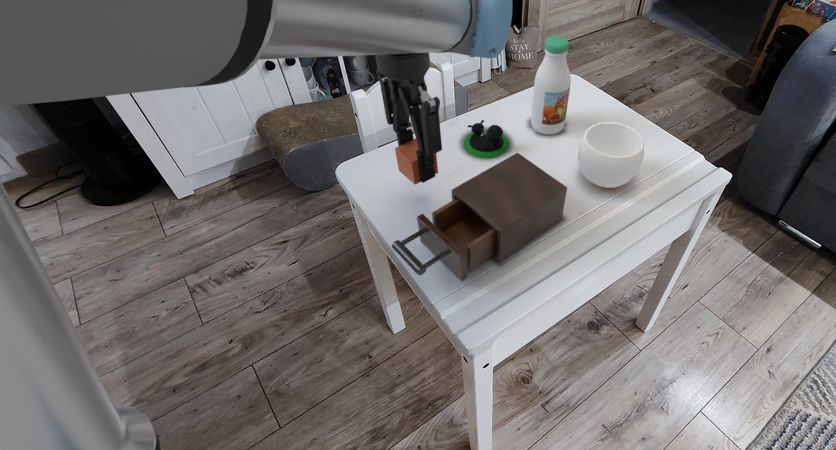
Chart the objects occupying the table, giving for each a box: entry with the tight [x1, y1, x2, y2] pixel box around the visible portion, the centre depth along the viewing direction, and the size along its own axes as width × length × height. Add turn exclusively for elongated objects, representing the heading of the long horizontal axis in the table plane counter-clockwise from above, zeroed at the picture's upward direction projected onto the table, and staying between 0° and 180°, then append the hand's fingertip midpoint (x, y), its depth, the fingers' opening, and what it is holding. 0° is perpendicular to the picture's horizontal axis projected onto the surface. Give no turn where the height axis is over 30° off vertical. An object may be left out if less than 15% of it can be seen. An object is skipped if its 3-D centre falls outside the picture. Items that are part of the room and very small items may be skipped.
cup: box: [577, 121, 645, 189], centre depth 89 cm, size 12×12×10 cm
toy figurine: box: [463, 119, 510, 159], centre depth 97 cm, size 10×10×6 cm
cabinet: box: [451, 152, 568, 264], centre depth 81 cm, size 16×13×8 cm
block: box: [394, 138, 439, 186], centre depth 79 cm, size 5×5×5 cm
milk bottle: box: [530, 35, 572, 135], centre depth 97 cm, size 8×8×20 cm
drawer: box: [391, 198, 497, 282], centre depth 76 cm, size 21×11×6 cm, turn 132°
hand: (418, 170), depth 81 cm, fingers closed on block, 5 cm apart
